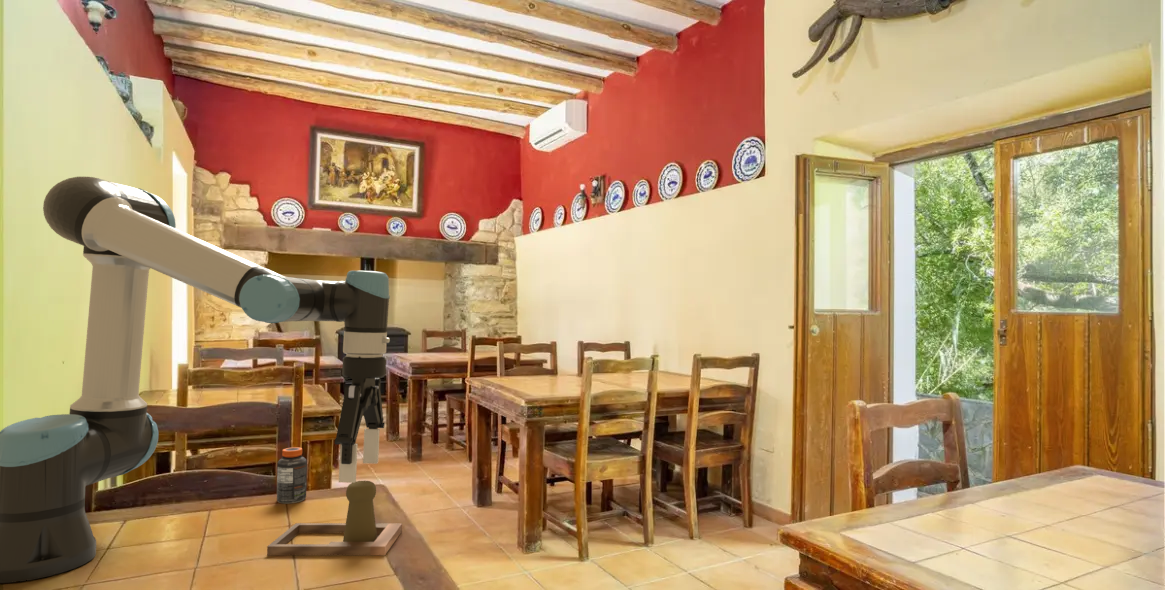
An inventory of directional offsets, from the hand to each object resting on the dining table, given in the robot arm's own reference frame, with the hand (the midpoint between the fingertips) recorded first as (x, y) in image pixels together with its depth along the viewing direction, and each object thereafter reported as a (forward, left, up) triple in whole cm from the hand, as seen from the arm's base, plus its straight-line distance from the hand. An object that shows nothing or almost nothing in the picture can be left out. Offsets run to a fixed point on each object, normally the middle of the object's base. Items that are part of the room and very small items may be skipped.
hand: (359, 472), depth 117 cm
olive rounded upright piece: (0, 0, -13) cm, 13 cm away
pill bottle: (-23, +26, -13) cm, 37 cm away
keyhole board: (-4, 0, -13) cm, 13 cm away
